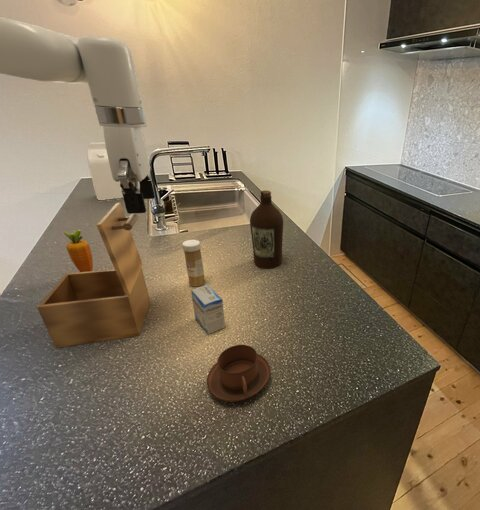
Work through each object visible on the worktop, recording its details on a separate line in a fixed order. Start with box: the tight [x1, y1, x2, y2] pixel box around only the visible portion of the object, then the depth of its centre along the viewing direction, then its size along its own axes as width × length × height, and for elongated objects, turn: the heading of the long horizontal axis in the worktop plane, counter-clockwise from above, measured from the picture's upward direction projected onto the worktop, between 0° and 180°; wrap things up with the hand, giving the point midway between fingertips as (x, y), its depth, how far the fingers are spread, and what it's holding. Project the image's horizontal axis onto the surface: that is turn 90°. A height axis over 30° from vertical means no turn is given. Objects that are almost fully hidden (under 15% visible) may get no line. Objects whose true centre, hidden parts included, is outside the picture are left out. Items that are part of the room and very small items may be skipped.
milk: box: [86, 142, 123, 201], centre depth 149 cm, size 12×12×26 cm
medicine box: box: [190, 284, 226, 335], centre depth 74 cm, size 8×4×9 cm, turn 44°
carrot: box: [63, 229, 94, 272], centre depth 87 cm, size 5×5×15 cm
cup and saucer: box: [206, 344, 271, 403], centre depth 60 cm, size 12×12×6 cm
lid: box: [96, 202, 144, 295], centre depth 68 cm, size 16×14×4 cm
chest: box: [36, 267, 151, 349], centre depth 71 cm, size 16×14×11 cm
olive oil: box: [249, 190, 284, 269], centre depth 101 cm, size 11×11×25 cm
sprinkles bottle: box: [181, 239, 206, 287], centre depth 88 cm, size 5×5×14 cm
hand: (142, 205), depth 65 cm, fingers open, 9 cm apart
